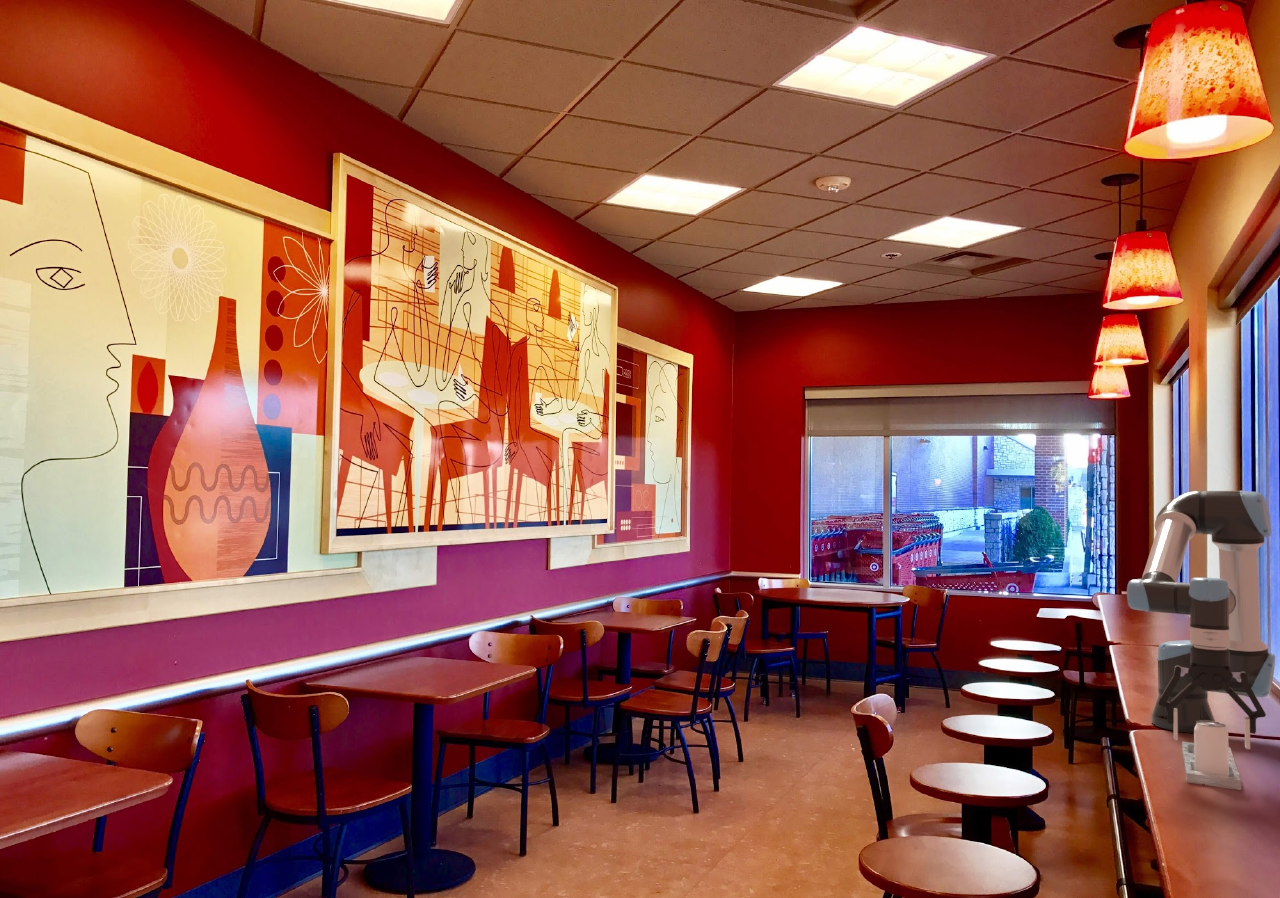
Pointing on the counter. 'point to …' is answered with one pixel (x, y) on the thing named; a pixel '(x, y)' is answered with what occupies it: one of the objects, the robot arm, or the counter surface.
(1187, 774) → the holder
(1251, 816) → the counter surface
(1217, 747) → the can
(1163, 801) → the counter surface
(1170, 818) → the counter surface
